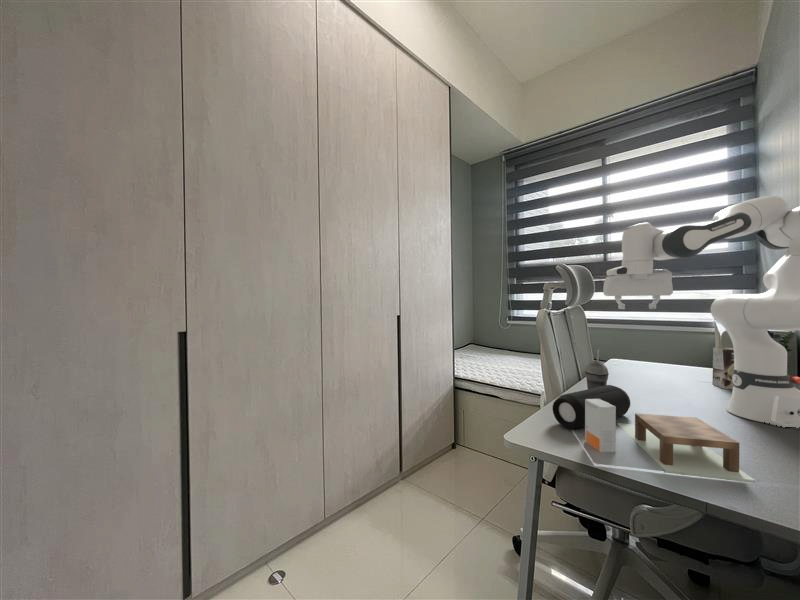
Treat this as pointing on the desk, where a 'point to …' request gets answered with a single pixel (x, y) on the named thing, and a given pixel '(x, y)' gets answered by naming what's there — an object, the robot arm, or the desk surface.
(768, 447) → the desk surface
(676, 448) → the mat
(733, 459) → the stool
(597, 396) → the portable speaker
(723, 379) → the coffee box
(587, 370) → the beverage cup
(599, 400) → the skincare box
